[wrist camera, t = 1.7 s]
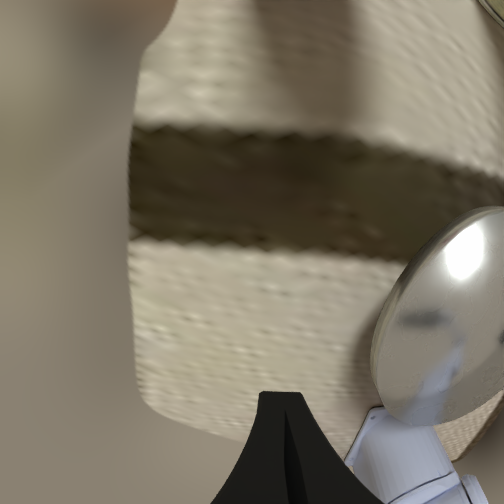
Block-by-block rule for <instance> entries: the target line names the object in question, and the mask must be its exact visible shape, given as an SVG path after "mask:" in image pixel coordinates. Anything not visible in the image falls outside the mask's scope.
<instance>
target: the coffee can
mask: <svg viewBox="0 0 504 504" xmlns="http://www.w3.org/2000/svg"><path fill="white" fill-rule="evenodd" d="M478 1H479V2H480V3H481V5H482V6H483V7H484V8H485V9H486V10H487V12H488V13H489V14H490V15H491V16H492V17H493V18H494V19H495V20H496V21H497V23H499V24H500V25H501V26H502V27H503V28H504V0H478Z"/></svg>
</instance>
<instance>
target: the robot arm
mask: <svg viewBox="0 0 504 504" xmlns="http://www.w3.org/2000/svg"><path fill="white" fill-rule="evenodd" d="M347 466H353V470H354V474H355V475H354V474H353V473H352V472H351V471H350V469H349V468H348V467H347ZM462 480H463V483H464V485H465V487H464V485H463V483H462V481H461V479H460V478H459V476H458V474H457V473H456V472H455V470H454V468H453V465H452V463H451V461H450V459H449V457H448V455H447V453H446V451H445V449H444V447H443V445H442V443H441V441H440V439H439V437H438V435H437V433H436V431H435V430H434V428H433V426H415V425H410V424H406V423H403V422H401V421H399V420H397V419H395V418H394V417H393V416H392V415H391V414H389V412H388V411H387V410H386V408H385V407H378V408H373V409H371V410H370V411H369V413H368V415H367V417H366V419H365V421H364V424H363V426H362V428H361V430H360V432H359V434H358V436H357V438H356V440H355V442H354V444H353V446H352V448H351V449H350V451H349V453H348V455H347V457H346V459H345V461H344V462H343V461H342V459H341V458H340V457H339V455H338V454H337V453H336V451H335V450H334V449H333V447H332V446H331V444H330V443H329V441H328V440H327V438H326V437H325V435H324V434H323V432H322V431H321V429H320V427H319V426H318V424H317V422H316V420H315V419H314V417H313V415H312V413H311V411H310V409H309V407H308V405H307V403H306V401H305V399H304V397H303V395H302V394H301V393H300V392H272V391H262V392H261V393H259V399H258V407H257V414H256V417H255V421H254V424H253V427H252V429H251V432H250V435H249V437H248V440H247V442H246V445H245V447H244V449H243V451H242V453H241V455H240V457H239V459H238V461H237V463H236V465H235V467H234V469H233V470H232V472H231V474H230V475H229V477H228V479H227V480H226V482H225V484H224V485H223V487H222V488H221V490H220V491H219V493H218V494H217V495H216V497H215V498H214V500H213V501H212V502H211V504H488V501H487V499H486V497H485V495H484V493H483V491H482V489H481V487H480V484H479V483H478V481H477V479H476V477H475V476H474V475H468V474H466V475H464V476H463V477H462Z"/></svg>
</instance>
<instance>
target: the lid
mask: <svg viewBox="0 0 504 504" xmlns="http://www.w3.org/2000/svg"><path fill="white" fill-rule="evenodd" d="M370 367H371V374H372V379H373V382H374V384H375V387H376V389H377V391H378V393H379V396H380V398H381V400H382V403H383V405H384V407H385V408H386V410H387V411H388V412H389V414H391V415H392V416H393V417H394V418H395V419H397V420H399V421H401V422H403V423H406V424H410V425H415V426H432V425H437V424H442V423H446V422H449V421H452V420H455V419H457V418H460V417H462V416H464V415H466V414H468V413H470V412H472V411H473V410H475V409H477V408H478V407H480V406H481V405H483V404H484V403H486V402H487V401H488V400H490V399H491V398H492V397H493V396H495V395H496V394H497V393H498V392H499V391H500V390H501V389H502V388H503V387H504V207H501V206H485V207H481V208H478V209H474V210H471V211H469V212H467V213H465V214H463V215H460V216H459V217H457V218H456V219H454V220H453V221H451V222H450V223H448V224H447V225H445V226H444V227H443V228H442V229H441V230H439V231H438V232H437V233H436V234H434V235H433V236H432V237H431V239H430V240H429V241H428V242H427V243H426V244H425V245H424V246H423V247H422V248H421V249H420V250H419V251H418V252H417V254H416V255H415V256H414V257H413V259H412V260H411V261H410V262H409V263H408V265H407V266H406V268H405V269H404V271H403V272H402V274H401V275H400V277H399V278H398V280H397V281H396V283H395V285H394V287H393V288H392V290H391V292H390V294H389V295H388V298H387V300H386V302H385V304H384V306H383V308H382V311H381V313H380V316H379V319H378V322H377V324H376V327H375V331H374V335H373V340H372V344H371V354H370Z"/></svg>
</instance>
